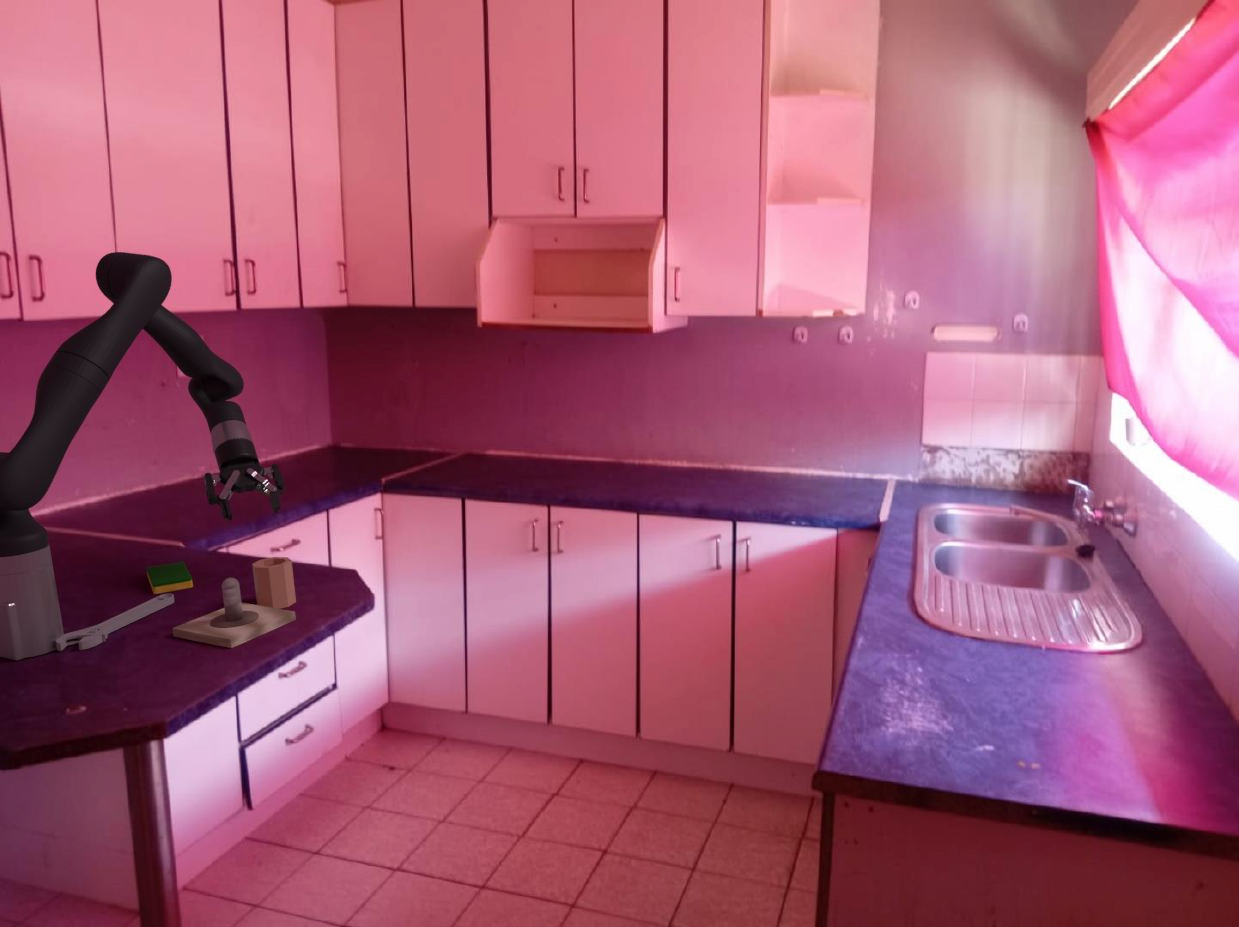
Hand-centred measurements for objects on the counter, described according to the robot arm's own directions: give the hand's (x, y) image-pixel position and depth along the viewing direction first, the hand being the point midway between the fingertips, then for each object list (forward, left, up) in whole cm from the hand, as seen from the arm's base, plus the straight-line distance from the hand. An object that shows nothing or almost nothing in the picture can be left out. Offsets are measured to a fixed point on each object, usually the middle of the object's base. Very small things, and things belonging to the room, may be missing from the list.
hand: (253, 514), depth 185 cm
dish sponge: (-4, +22, -15) cm, 27 cm away
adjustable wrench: (-25, +7, -15) cm, 30 cm away
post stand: (-18, -13, -15) cm, 27 cm away
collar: (-6, -10, -15) cm, 19 cm away
